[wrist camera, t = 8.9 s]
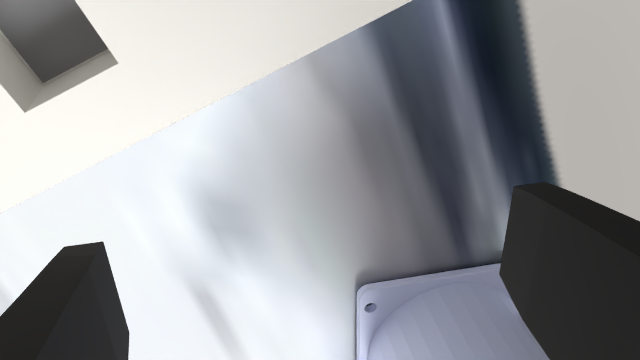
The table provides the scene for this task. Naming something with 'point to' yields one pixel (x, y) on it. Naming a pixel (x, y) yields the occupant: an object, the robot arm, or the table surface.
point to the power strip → (137, 71)
